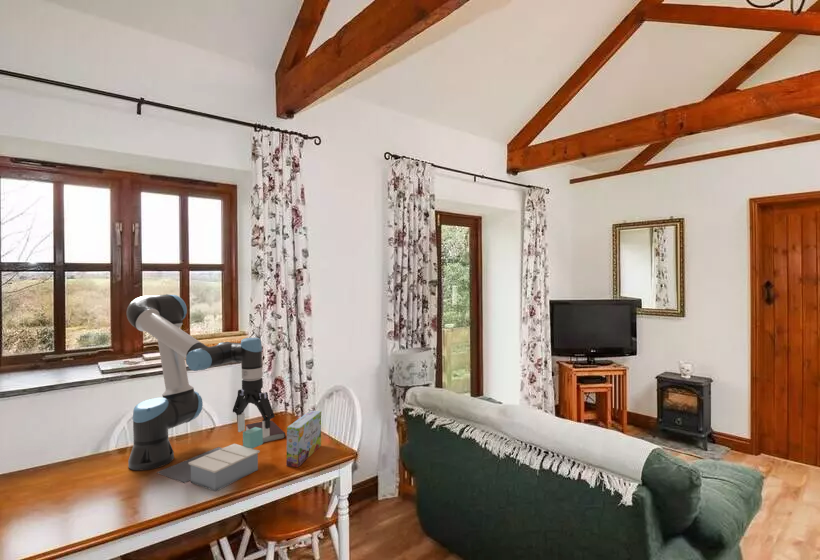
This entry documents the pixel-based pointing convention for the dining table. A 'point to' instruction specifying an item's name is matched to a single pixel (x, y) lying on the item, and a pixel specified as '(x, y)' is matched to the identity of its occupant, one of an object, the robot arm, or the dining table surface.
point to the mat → (183, 469)
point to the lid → (231, 452)
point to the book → (274, 431)
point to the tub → (224, 474)
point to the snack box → (303, 438)
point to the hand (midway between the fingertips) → (253, 433)
